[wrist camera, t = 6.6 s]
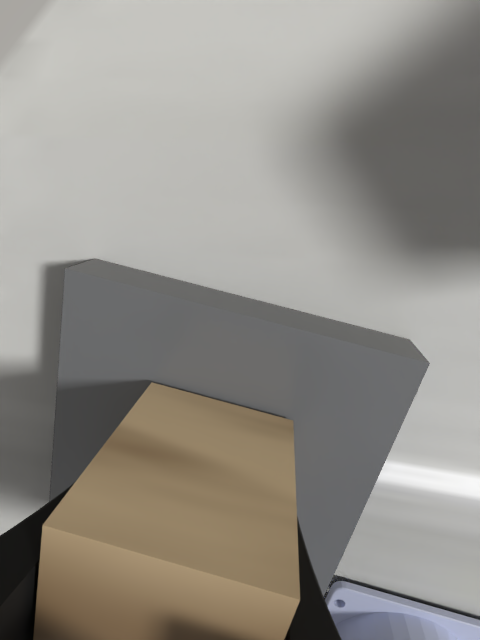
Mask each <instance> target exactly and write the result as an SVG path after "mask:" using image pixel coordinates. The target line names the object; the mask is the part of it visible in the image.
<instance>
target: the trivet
mask: <svg viewBox="0 0 480 640" xmlns="http://www.w3.org/2000/svg"><path fill="white" fill-rule="evenodd" d="M429 364H430V363H429V362H428V361H427V359H426V358H425V357H424V356H423V355H422V353H421V352H420V351H419V350H418V349H417V348H416V346H415V345H414V344H413V343H412V342H411V340H409V339H405V338H401V337H398V336H394V335H390V334H386V333H382V332H378V331H374V330H370V329H366V328H363V327H359V326H355V325H351V324H347V323H343V322H339V321H335V320H332V319H328V318H324V317H320V316H316V315H312V314H308V313H304V312H301V311H297V310H293V309H289V308H285V307H281V306H277V305H273V304H269V303H266V302H262V301H258V300H254V299H250V298H246V297H242V296H238V295H235V294H231V293H227V292H223V291H219V290H215V289H211V288H207V287H204V286H200V285H196V284H192V283H188V282H184V281H180V280H176V279H173V278H169V277H165V276H161V275H157V274H153V273H149V272H145V271H141V270H138V269H134V268H130V267H126V266H122V265H118V264H114V263H110V262H107V261H103V260H99V259H92V260H89V261H86V262H83V263H80V264H77V265H74V266H71V267H68V268H65V275H64V290H63V305H62V320H61V335H60V350H59V365H58V380H57V395H56V410H55V425H54V440H53V455H52V470H51V485H50V500H49V502H50V501H51V500H53V499H54V498H55V497H57V496H58V495H59V494H60V493H62V492H63V491H64V490H66V489H67V488H68V487H70V486H71V485H72V484H73V483H75V482H76V481H77V479H78V478H79V477H80V475H81V474H82V473H83V472H84V470H85V469H86V468H87V466H88V465H89V464H90V462H91V461H92V460H93V458H94V457H95V456H96V454H97V453H98V452H99V451H100V449H101V448H102V447H103V445H104V444H105V443H106V441H107V440H108V439H109V437H110V436H111V435H112V434H113V432H114V431H115V430H116V428H117V427H118V426H119V424H120V423H121V422H122V420H123V419H124V418H125V417H126V415H127V414H128V413H129V411H130V410H131V409H132V407H133V406H134V405H135V403H136V402H137V401H138V400H139V398H140V397H141V396H142V394H143V393H144V392H145V390H146V389H147V388H148V386H149V385H150V384H151V383H152V382H153V383H156V384H160V385H164V386H167V387H171V388H175V389H178V390H182V391H186V392H190V393H193V394H197V395H201V396H204V397H208V398H212V399H215V400H219V401H223V402H227V403H230V404H234V405H238V406H241V407H245V408H249V409H253V410H256V411H260V412H264V413H267V414H271V415H275V416H278V417H282V418H286V419H290V420H293V427H294V453H295V479H296V505H297V517H298V520H299V524H300V528H301V532H302V535H303V539H304V542H305V545H306V548H307V551H308V555H309V558H310V561H311V564H312V567H313V570H314V572H315V575H316V578H317V580H318V583H319V586H320V589H321V591H322V594H323V597H324V595H325V593H326V591H327V588H328V586H329V584H330V582H331V580H332V577H333V575H334V573H335V571H336V569H337V566H338V564H339V562H340V560H341V558H342V555H343V553H344V551H345V549H346V547H347V544H348V542H349V540H350V538H351V536H352V533H353V531H354V529H355V527H356V525H357V522H358V520H359V518H360V516H361V514H362V511H363V509H364V507H365V505H366V503H367V500H368V498H369V496H370V494H371V492H372V489H373V487H374V485H375V483H376V481H377V478H378V476H379V474H380V472H381V470H382V467H383V465H384V463H385V461H386V459H387V456H388V454H389V452H390V450H391V448H392V445H393V443H394V441H395V439H396V436H397V434H398V432H399V430H400V428H401V425H402V423H403V421H404V419H405V417H406V414H407V412H408V410H409V408H410V406H411V403H412V401H413V399H414V397H415V395H416V392H417V390H418V388H419V386H420V384H421V381H422V379H423V377H424V375H425V373H426V370H427V368H428V366H429Z"/></svg>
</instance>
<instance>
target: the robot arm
mask: <svg viewBox="0 0 480 640" xmlns="http://www.w3.org/2000/svg"><path fill="white" fill-rule="evenodd" d="M73 485H74V483H73V484H72V485H71V486H70V487H68V488H67V489H66V490H64V491H63V492H62V493H60V494H59V495H58V496H57V497H55V498H54V499H53V500H51V501H50V502H49V503H47V504H46V505H45V506H43V507H42V508H40V509H39V510H38V511H36V512H35V513H33V514H32V515H30V516H29V517H27V518H26V519H25V520H23V521H22V522H20V523H19V524H17V525H16V526H14V527H13V528H11V529H10V530H8V531H7V532H5V533H4V534H2V535H0V640H33V636H34V624H35V612H36V599H37V587H38V575H39V563H40V550H41V538H42V526H43V524H44V523H45V521H46V520H47V519H48V517H49V516H50V515H51V513H52V512H53V511H54V509H55V508H56V507H57V506H58V504H59V503H60V502H61V500H62V499H63V498H64V496H65V495H66V494H67V492H68V491H69V490H70V489H71V487H72V486H73ZM297 531H298V556H299V582H300V602H299V604H298V607H297V609H296V612H295V614H294V617H293V619H292V622H291V624H290V626H289V629H288V631H287V634H286V636H285V639H284V640H480V620H478V619H475V618H471V617H468V616H464V615H461V614H457V613H454V612H450V611H447V610H443V609H440V608H436V607H433V606H429V605H426V604H422V603H419V602H415V601H412V600H408V599H405V598H401V597H398V596H394V595H391V594H387V593H384V592H380V591H377V590H374V589H370V588H367V587H363V586H360V585H356V584H353V583H349V582H346V581H337V582H335V583H333V585H332V586H331V588H330V590H329V592H328V595H327V597H326V599H324V597H323V594H322V591H321V589H320V586H319V583H318V580H317V578H316V575H315V572H314V570H313V567H312V564H311V561H310V558H309V555H308V551H307V548H306V545H305V542H304V539H303V535H302V532H301V528H300V524H299V520H298V517H297Z"/></svg>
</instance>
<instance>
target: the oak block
mask: <svg viewBox="0 0 480 640" xmlns="http://www.w3.org/2000/svg"><path fill="white" fill-rule="evenodd" d="M299 602H300V582H299V556H298V531H297V505H296V479H295V453H294V427H293V420H290V419H286V418H282V417H278V416H275V415H271V414H267V413H264V412H260V411H256V410H253V409H249V408H245V407H241V406H238V405H234V404H230V403H227V402H223V401H219V400H215V399H212V398H208V397H204V396H201V395H197V394H193V393H190V392H186V391H182V390H178V389H175V388H171V387H167V386H164V385H160V384H156V383H153V382H152V383H151V384H150V385H149V386H148V388H147V389H146V390H145V392H144V393H143V394H142V396H141V397H140V398H139V400H138V401H137V402H136V403H135V405H134V406H133V407H132V409H131V410H130V411H129V413H128V414H127V415H126V417H125V418H124V419H123V420H122V422H121V423H120V424H119V426H118V427H117V428H116V430H115V431H114V432H113V434H112V435H111V436H110V437H109V439H108V440H107V441H106V443H105V444H104V445H103V447H102V448H101V449H100V451H99V452H98V453H97V454H96V456H95V457H94V458H93V460H92V461H91V462H90V464H89V465H88V466H87V468H86V469H85V470H84V472H83V473H82V474H81V475H80V477H79V478H78V479H77V481H76V482H75V483H74V485H73V486H72V487H71V489H70V490H69V491H68V492H67V494H66V495H65V496H64V498H63V499H62V500H61V502H60V503H59V504H58V506H57V507H56V508H55V509H54V511H53V512H52V513H51V515H50V516H49V517H48V519H47V520H46V521H45V523H44V524H43V526H42V538H41V550H40V563H39V575H38V587H37V599H36V612H35V624H34V636H33V640H284V639H285V636H286V634H287V631H288V629H289V626H290V624H291V622H292V619H293V617H294V614H295V612H296V609H297V607H298V604H299Z"/></svg>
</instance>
